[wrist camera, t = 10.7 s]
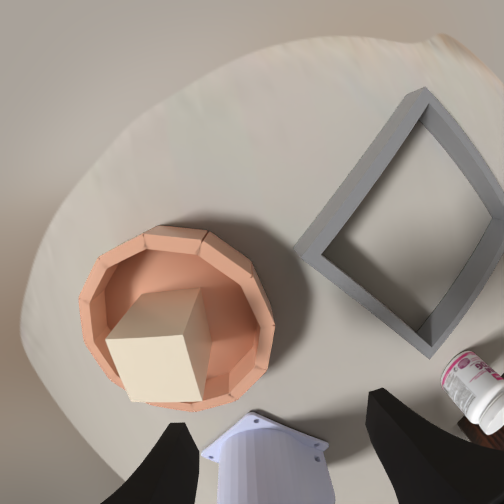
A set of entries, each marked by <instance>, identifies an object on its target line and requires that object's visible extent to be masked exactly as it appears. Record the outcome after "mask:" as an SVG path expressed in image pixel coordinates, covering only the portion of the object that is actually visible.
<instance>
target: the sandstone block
mask: <svg viewBox="0 0 504 504" xmlns="http://www.w3.org/2000/svg"><path fill="white" fill-rule="evenodd" d="M105 341H106V343H107V346H108V349H109V351H110V354H111V356H112V359H113V361H114V364H115V366H116V369H117V371H118V374H119V376H120V378H121V380H122V383H123V385H124V387H125V389H126V392H127V394H128V396H129V398H130V400H131V402H196V401H203V395H204V388H205V382H206V376H207V370H208V364H209V358H210V352H211V346H212V339H211V335H210V330H209V325H208V321H207V316H206V312H205V307H204V302H203V297H202V292H201V287H197V288H189V289H181V290H172V291H163V292H154V293H145V294H141V295H140V297H139V298H138V299H137V300H136V301H135V303H134V304H133V305H132V306H131V307H130V309H129V310H128V311H127V312H126V314H125V315H124V316H123V317H122V318H121V320H120V321H119V322H118V323H117V325H116V326H115V327H114V328H113V330H112V331H111V332H110V333H109V335H108V336H107V337H106V339H105Z"/></svg>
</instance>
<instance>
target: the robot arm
mask: <svg viewBox="0 0 504 504" xmlns="http://www.w3.org/2000/svg"><path fill="white" fill-rule="evenodd" d="M255 419H258V420H255ZM365 425H366V428H367V431H368V434H369V437H370V439H371V442H372V445H373V447H374V449H375V451H376V453H377V455H378V457H379V459H380V461H381V463H382V465H383V467H384V469H385V471H386V473H387V475H388V477H389V479H390V481H391V483H392V485H393V488H394V490H395V493H396V496H397V499H398V502H399V504H504V451H502V450H497V449H492V448H488V447H484V446H481V445H478V444H475V443H471V442H468V441H466V440H463V439H461V438H458V437H456V436H454V435H452V434H450V433H448V432H446V431H444V430H442V429H440V428H439V427H437V426H435V425H434V424H432V423H430V422H429V421H427V420H426V419H424V418H423V417H421V416H420V415H418V414H417V413H415V412H414V411H413V410H411V409H410V408H408V407H407V406H406V405H405V404H403V403H402V402H401V401H399V400H398V399H397V398H396V397H394V396H393V395H392V394H391V393H389V392H388V391H387V390H386V389H384V388H380V389H377V390H374V391H370V392H369V395H368V406H367V415H366V424H365ZM328 447H329V444H328V442H325V441H323V440H320V439H317V438H314V437H312V436H309V435H306V434H304V433H301V432H299V431H296V430H294V429H291V428H289V427H286V426H284V425H282V424H279V423H277V422H275V421H272V420H270V419H268V418H266V417H263V416H261V415H259V414H257V413H254V412H249V413H247V414H246V415H245V416H244V417H242V418H241V419H240V420H239V421H238V422H237V423H236V424H234V425H233V426H232V427H231V428H230V429H229V430H227V431H226V432H225V433H224V434H223V435H221V436H220V437H219V438H218V439H217V440H215V441H214V442H213V443H212V444H210V445H209V446H208V447H207V448H205V449H204V450H203V451H202V453H201V455H202V456H203V457H204V458H207V459H209V460H212V461H214V462H217V463H219V474H218V492H217V504H335V493H334V489H333V485H332V482H331V478H330V475H329V471H328V467H327V464H326V460H325V457H324V453H323V451H325V450H326V449H327V448H328ZM198 477H199V450H198V448H197V446H196V444H195V442H194V440H193V439H192V437H191V434H190V432H189V430H188V428H187V426H186V424H185V423H170V424H169V425H168V427H167V428H166V430H165V431H164V433H163V434H162V436H161V437H160V439H159V440H158V441H157V443H156V444H155V446H154V447H153V449H152V450H151V451H150V453H149V454H148V455H147V457H146V458H145V459H144V461H143V462H142V463H141V465H140V466H139V467H138V468H137V469H136V470H135V472H134V473H133V474H132V475H131V476H130V477H129V479H128V480H127V481H126V482H125V483H124V484H123V485H122V486H121V487H120V488H119V489H118V490H116V491H115V492H114V493H113V494H112V495H111V496H110V497H108V498H107V499H106V500H105V501H103V502H102V503H101V504H194V503H195V497H196V490H197V483H198Z"/></svg>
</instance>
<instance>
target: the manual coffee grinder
mask: <svg viewBox="0 0 504 504" xmlns="http://www.w3.org/2000/svg"><path fill="white" fill-rule="evenodd" d="M501 377H502V378H503V379H504V373H503V375H502V376H501ZM458 425H459V427H460V429H461V431H462V432H464V433H465V435H466V436H467V437H468V439H469V440H470V441H471V442H472V443H475V444H478V445H481V446H484V447H488V448H492V449H497V450H502V451H504V425H503V426H502V427H501V428H500V429H499V430H497V431H496V432H494V433H493V434H490V435H487V434H485V432H484V431H483V430H482V429H481V427H480V426H479V424H473V423H471V422H470V421H469V420H468V418H467V417H466V416H464V417H463V418H462V419H461V420H460V421H459V422H458Z"/></svg>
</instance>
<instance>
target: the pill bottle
mask: <svg viewBox="0 0 504 504" xmlns="http://www.w3.org/2000/svg"><path fill="white" fill-rule="evenodd" d="M441 386H442V388H443V389H444V391H445V392H446V393H447V394H448V395H449V397H450V398H451V399H452V400H453V401H454V403H455V404H456V405H457V406H458V407H459V409H460V410H461V411H462V412H463V413H464V415H465V416H466V417H467V418H468V420H469V421H470V422H471V423H473V424H479V426H480V427H481V429H482V430H483V431H484V432H485V434H487V435H490V434H493V433H494V432H496V431H497V430H499V429H500V428H501V427H502V426H503V425H504V379H503V378H502V377H501V376H500V375H499V374H497V373H496V372H495V371H494V370H493V369H492V368H491V367H490V366H489V365H487V364H486V363H485V362H484V361H483V360H482V359H481V358H479V357H478V356H477V355H476V354H475V353H474V352H472V351H465V352H462V353H460V354H458V355H457V356H456V357H455V358H453V359H452V360H451V362H450V363H449V364H448V365H447V367H446V369H445V370H444V372H443V375H442V378H441Z"/></svg>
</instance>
